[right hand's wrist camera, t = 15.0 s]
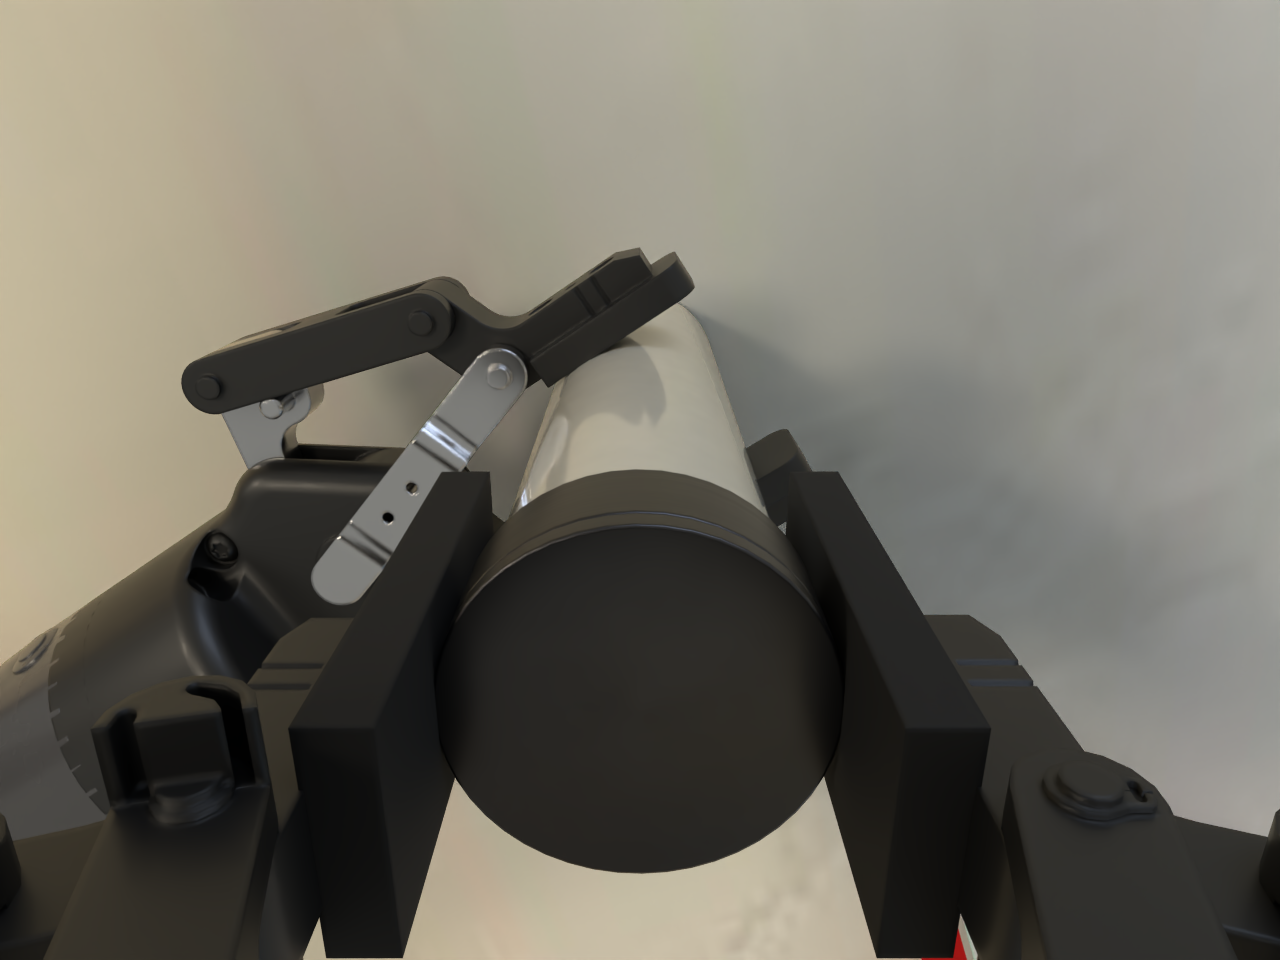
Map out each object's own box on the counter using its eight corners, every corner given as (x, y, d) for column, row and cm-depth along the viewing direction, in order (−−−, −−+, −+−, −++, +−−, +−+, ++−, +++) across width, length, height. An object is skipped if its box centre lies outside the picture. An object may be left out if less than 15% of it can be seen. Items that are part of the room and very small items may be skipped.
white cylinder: (737, 393, 26) (872, 739, 11) (612, 459, 27) (576, 869, 12) (669, 264, 25) (714, 457, 10) (538, 337, 26) (392, 622, 11)
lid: (828, 465, 11) (860, 521, 9) (808, 778, 13) (833, 872, 11) (444, 470, 11) (410, 527, 9) (475, 782, 13) (451, 877, 11)
